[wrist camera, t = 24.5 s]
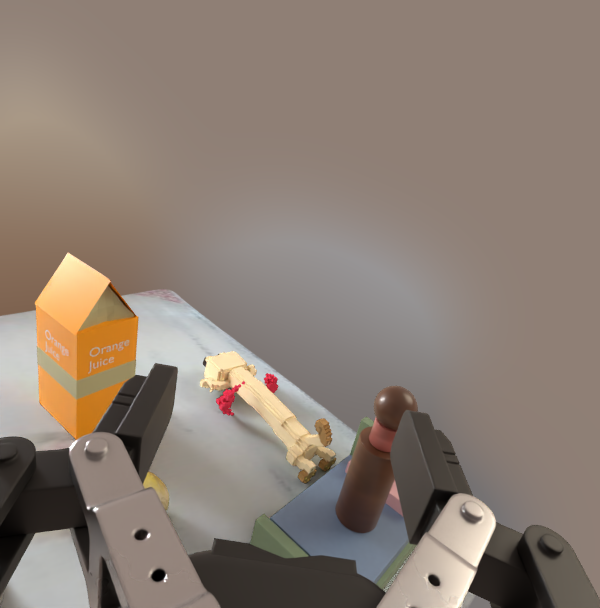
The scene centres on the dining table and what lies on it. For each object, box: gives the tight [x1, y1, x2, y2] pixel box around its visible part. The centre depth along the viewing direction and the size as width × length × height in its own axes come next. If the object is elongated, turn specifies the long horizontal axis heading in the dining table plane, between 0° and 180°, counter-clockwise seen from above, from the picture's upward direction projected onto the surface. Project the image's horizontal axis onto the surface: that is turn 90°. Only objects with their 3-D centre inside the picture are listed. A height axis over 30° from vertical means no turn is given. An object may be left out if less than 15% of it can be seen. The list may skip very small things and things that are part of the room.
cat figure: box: [200, 351, 336, 484], centre depth 62 cm, size 10×9×25 cm
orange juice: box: [35, 253, 138, 440], centre depth 55 cm, size 8×9×20 cm
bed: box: [250, 417, 417, 590], centre depth 48 cm, size 12×18×8 cm, turn 139°
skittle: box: [335, 386, 418, 533], centre depth 45 cm, size 5×5×16 cm
